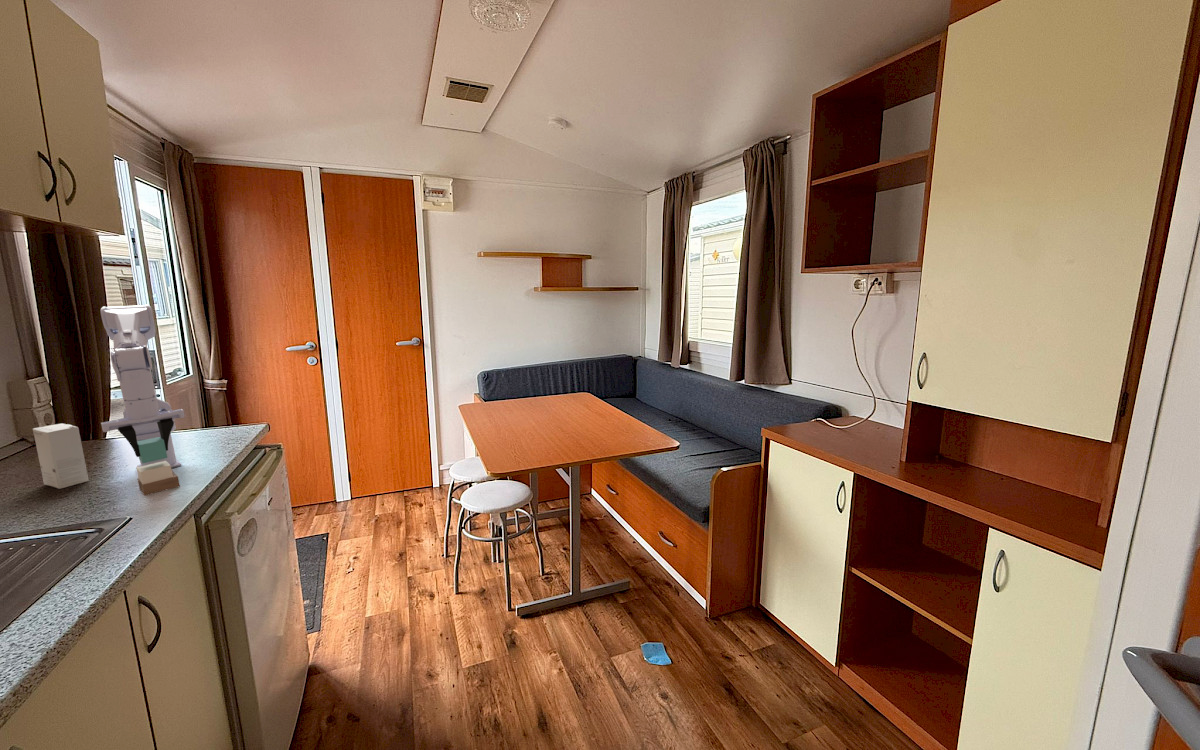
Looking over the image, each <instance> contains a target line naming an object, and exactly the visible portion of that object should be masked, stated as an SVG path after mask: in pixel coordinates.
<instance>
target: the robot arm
mask: <svg viewBox="0 0 1200 750" xmlns="http://www.w3.org/2000/svg"><path fill="white" fill-rule="evenodd" d="M100 316H101V321H102V325H103V327H104V329H105V331H106V335H107V336H108V337H109V340H111V341H113V343H112V344H113V351H110V360H111V366H112V369H113V371H114V373H115V375H116V379H117V382H119V386H120V391H121V395H122V400H123V405H124V407H125V408H124V410H123V411H122V415H123V418H118V419H113V420H109V421H104V422H100V426H101V429H102V432H103V433H107V432H111V431H115V430H118V432H119V433H120V434H121V435H122V436H123V437H124V438H125V439H126V440H127V442H128V443H129V445H130V446H131V448H132V450H133V452H134V454H135V456H136V457H137V458H139V457H140V451H139V447H138V443H137V441H141V440H146V439H151V438H156V437H161V438H162V439H163V440H164V443H165V448H166V453H167V457H168V458H165V459H160V460H156V461H151V462H147V463H142V462H141V461H140V460H139V462H140V464H137V465H136V467H140V466H145V465H149V464H153V463H157V462H162V461H167V462H168V463H169V464H170V465H171V469H172V468H177V467H179V466H182V463H181V462H180V461H179V460H178V459H177V457H176V453H175V452H176V451H175V447H174V443H173V437H172V434H171V433H172V432H174V431H175V430H176V429H177V427H176V421H175V419H183V418H186V415H185V410H184V409H182V408H180V409H174V410H173V409H172V406H171V404H170V403H169V402H167V401H164V400H162V399H159V398H157V394H156V388H155V385H154V381H153V375H152V371H151V370H153V364H152V363H153V362H152V357H151V354H150V351H149V350H150V349H149V348H148V342H149V340H150V339H152V338H155V337H156V332H157V331H156V324H155V320H154V319H155V318H154V313H153V308H152V306H151V305H150V304H147V303H146V304H145V305H143V304H142V305H140V304H139V305H121V306H119V305H117V306H106V305H105V306H102V307H101V308H100Z"/></svg>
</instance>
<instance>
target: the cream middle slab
mask: <svg viewBox="0 0 1200 750" xmlns="http://www.w3.org/2000/svg"><path fill="white" fill-rule="evenodd" d="M135 469H136V472H137V477H138V478H139V480H140V481H141V483H142V484H147V483H151V482H155V481H159V480H163V479H167V478H171V477H173V474H172V471H173V470H172V468H171V465H170V464H169V463H168V462H167V461H162V462H157V463H153V464H149V465H145V466H140V467H137V466H136V468H135ZM138 478H137V479H138Z"/></svg>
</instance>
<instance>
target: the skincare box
mask: <svg viewBox="0 0 1200 750" xmlns="http://www.w3.org/2000/svg"><path fill="white" fill-rule="evenodd" d="M32 432H33V436H34V442H35V446H36V451H37V457H38V462H39V465H40V472H41V475H42V476H41V477H42V480H43V482H42V483H43V484H44V485H45V486H50V487H53V488H56V489H58V490H59V489H64V488H68V487H71V486H75V485H79V484H82V483H85V482H89V481H90V480H89V476H88V470H87V469H88V468H87V465H86V460H85V455H84V449H83V445H82V439H81V435H80V429H79V427H78V426H76V425H72V424H69V423H67V424H66V423H56V424H50V425H45V426H39V427H34V428H32Z"/></svg>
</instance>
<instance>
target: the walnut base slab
mask: <svg viewBox="0 0 1200 750" xmlns="http://www.w3.org/2000/svg"><path fill="white" fill-rule="evenodd" d="M172 474H173V477H171V478H167V479H163V480H159V481H155V482H151V483H147V484H142V483H141V481H140V480H139V478H137V483H138V487H139V490H140V491H141V492H143V493H142V494H143V495H144V496H147V495H148V494H149V495H152V494H151V493H153V494H155V493H154V492H156V493H159V492H158V491H160V492H163V491H162V490H164V491H167V490H166V489H168V490H170V489H171V488H172V489H175V488H178V486H179V487H181V486H180V479H179V476H178V475H177V474H176V473H175V472H174V471H173V470H172ZM172 489H171V490H172Z"/></svg>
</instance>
